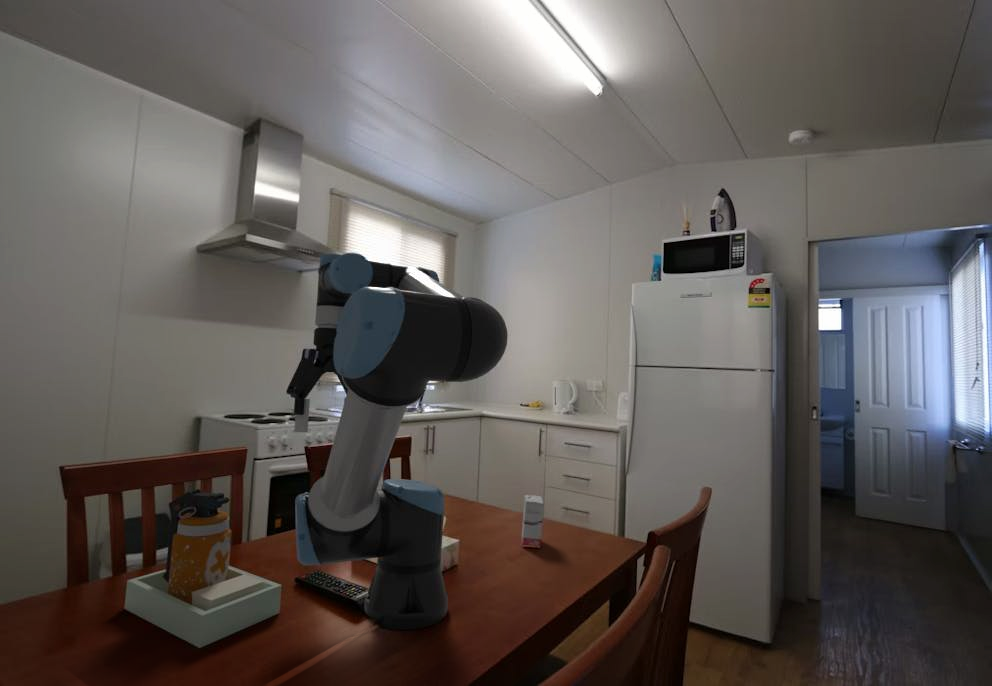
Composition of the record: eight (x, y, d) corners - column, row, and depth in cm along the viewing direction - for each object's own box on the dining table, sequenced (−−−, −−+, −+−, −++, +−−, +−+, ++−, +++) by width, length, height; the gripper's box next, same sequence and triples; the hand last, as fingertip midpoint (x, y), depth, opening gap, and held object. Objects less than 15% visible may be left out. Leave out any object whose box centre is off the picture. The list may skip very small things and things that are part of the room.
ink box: (541, 549, 132) (544, 502, 133) (522, 548, 132) (524, 501, 133) (539, 538, 140) (541, 495, 141) (521, 537, 140) (523, 494, 141)
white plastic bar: (260, 615, 87) (262, 581, 88) (207, 637, 79) (211, 600, 80) (241, 607, 90) (244, 574, 90) (188, 627, 82) (191, 592, 82)
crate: (279, 617, 88) (281, 585, 89) (199, 653, 76) (202, 615, 77) (204, 586, 99) (207, 557, 99) (123, 613, 87) (127, 580, 87)
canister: (199, 623, 83) (210, 499, 85) (142, 613, 86) (153, 493, 87) (236, 600, 92) (246, 488, 94) (183, 592, 94) (194, 483, 96)
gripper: (358, 334, 120) (352, 425, 118) (272, 320, 98) (263, 432, 96) (384, 334, 117) (378, 427, 115) (301, 320, 95) (292, 435, 93)
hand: (325, 429), depth 106 cm, fingers open, 13 cm apart
